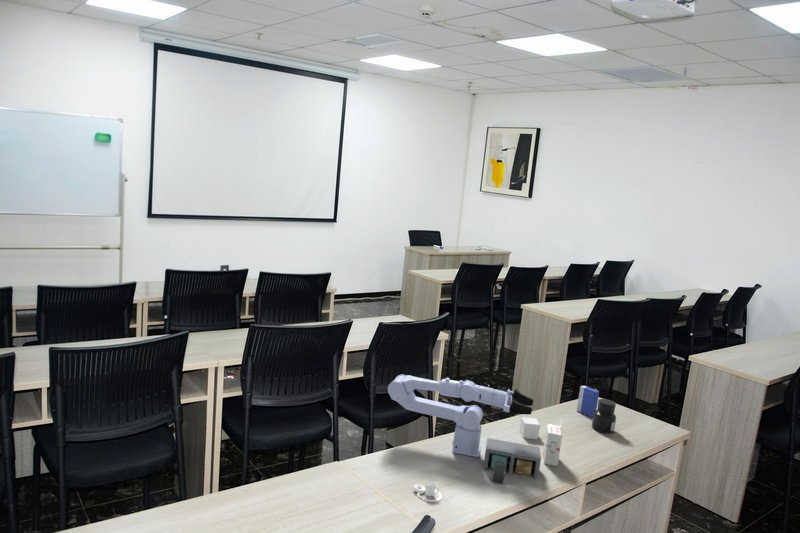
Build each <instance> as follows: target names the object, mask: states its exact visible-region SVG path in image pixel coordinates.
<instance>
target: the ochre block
mask: <svg viewBox="0 0 800 533" xmlns="http://www.w3.org/2000/svg"><path fill="white" fill-rule="evenodd" d="M514 465H515V466H514V467H515V473H519V474H525V475H531V474H532V469H533V468H532V461H531V460H526V459H520V458H516V464H514Z"/></svg>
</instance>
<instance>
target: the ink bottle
mask: <svg viewBox="0 0 800 533" xmlns="http://www.w3.org/2000/svg"><path fill="white" fill-rule="evenodd" d="M616 405H617V402H615V401H614V400H610V399H607V398H598V403H597V409H596V411H595V412H594V415H593V417H592V422H591V427H592V429H594V430H595V431H597V432H599V431H600V432H599V433H603V432H604V434H613V433H614V432H615V428H616V422H617V415H616V414H615V411H616Z"/></svg>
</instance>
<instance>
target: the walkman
mask: <svg viewBox="0 0 800 533" xmlns="http://www.w3.org/2000/svg"><path fill="white" fill-rule="evenodd" d="M599 396H600V390H598V389H596V388H594V389H593V388H592V387H590V386H586V385H580V387H579V394H578V399H577V400H578V401H577V405H576V406H577V407H576V412H577V411H579V412H581V413H580V414H582V413H583V414H582V415H584V414H586V415H585V416H587V415H588V416H587V417H589V416H590V417H589V418H593V415H594V412H595V411H596V410H597V409H598V401H599ZM579 412H578V413H579Z"/></svg>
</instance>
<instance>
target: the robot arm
mask: <svg viewBox="0 0 800 533" xmlns="http://www.w3.org/2000/svg"><path fill="white" fill-rule="evenodd" d="M415 390H422V391H423V390H425V391H433V392H437V393H438V394H440V395H441V396H446V397H451V398H461V400H464V402H465V403H467V402H468V403H469V402H472V401H474V402H478V403H480V404H485V405H489V406H493V407H497V408H500V409H503V410H502V411H503V412H505V413H508V417H512V416H517V415H532V411H533V408H532V407H533V404H534V399H532V398H531V397H529V396H526V395H525V394H523V393H522V392H520V391H519V390H518V389H516V388H514V390H513V391H512V390H511V389H509V388H507V391H504V390H500V389H495V388H492V387H488V386H484V385H478V384H476V383H475V382H473V381H472V380H469V379H466V380H452V379H450V377H446V378H443V379H441V380H439V381H437V380H434V379H433V380H432V379H428V378H422V377H418V376H413V375H411V374H410V375H408V374H406V375H405V374H399V375H397V376H396V377H395V378H394V380H392V381H391V382H390V383H389V384H388V386H387V392H388V394H389V396H390V399H391V400H393V401H395V402H397V403H398V404H399V405H400V406H402V408H404V409H406V410H408V411H411V412H414V413H415V412H416V413H419V414H422V415H428V416H433V417H435V418H439V419H445V420H447V421H453V422H455V423H456V424H455V428H454V435H453V439H452V453H453V454H457V455H459V454H460V455H465V456H468V457H469V456H470V457H475V458H479V457H480V451H481V447H480V444H481V436H482V429H483V428H482V425H481V421H482V419H483V416H484V412H483V410H482V408H481V407H479V405H476V404H473V405H454V404H450V403H446V402H445V403H444V402H441V401H436V400H431V399H427V398H423V397H419V396H416V394H415V392H414V391H415ZM531 406H532V407H531Z"/></svg>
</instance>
